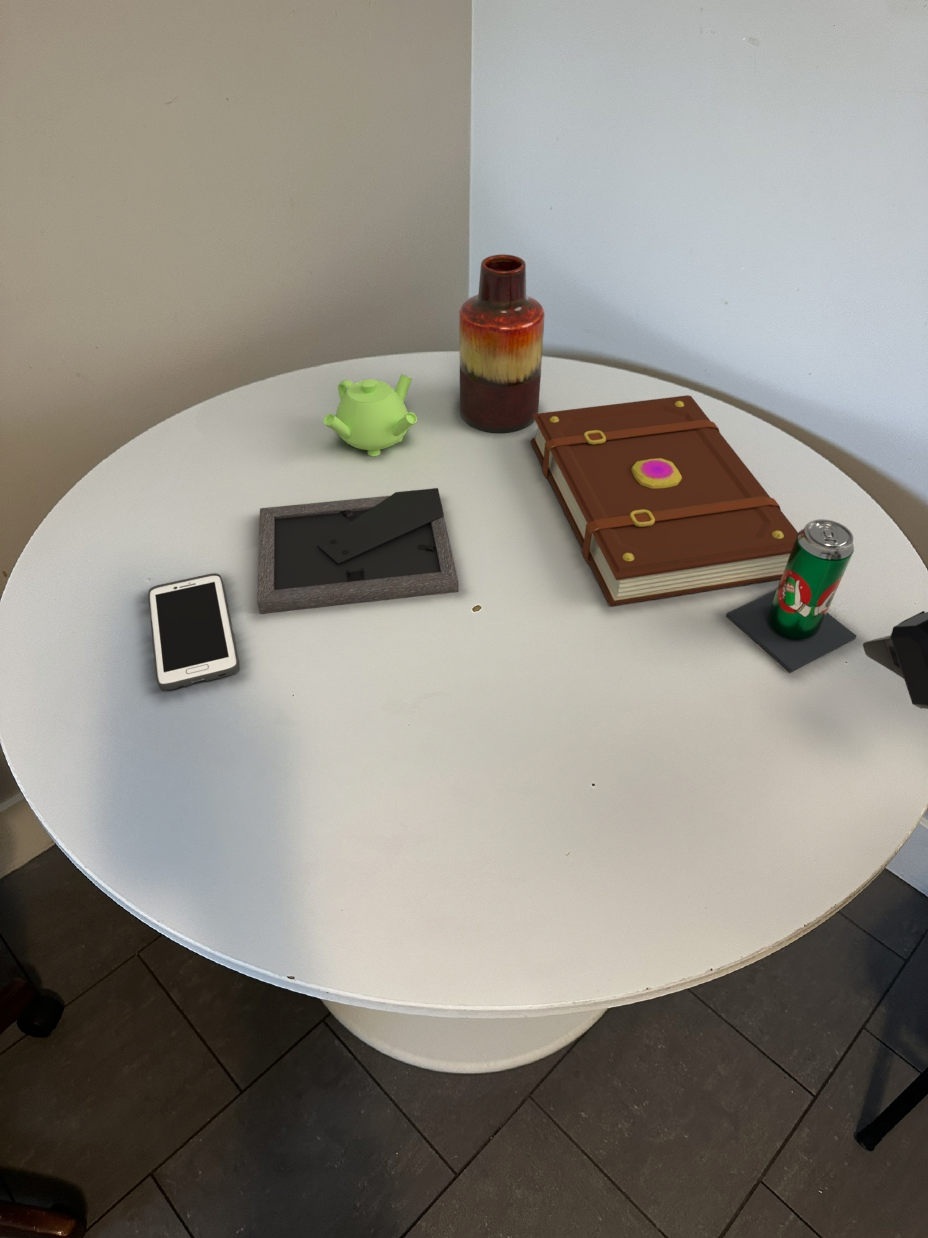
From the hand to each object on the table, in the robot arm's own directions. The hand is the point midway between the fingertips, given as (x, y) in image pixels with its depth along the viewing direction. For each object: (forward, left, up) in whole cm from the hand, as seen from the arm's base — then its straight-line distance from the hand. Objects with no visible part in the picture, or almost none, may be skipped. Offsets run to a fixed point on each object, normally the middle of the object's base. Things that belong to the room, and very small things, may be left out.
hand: (905, 628), depth 67 cm
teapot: (+41, -52, -12) cm, 67 cm away
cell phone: (+62, -20, -12) cm, 66 cm away
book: (+9, -34, -12) cm, 37 cm away
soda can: (+1, -11, -11) cm, 16 cm away
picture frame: (+45, -30, -12) cm, 55 cm away
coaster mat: (+1, -12, -12) cm, 17 cm away
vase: (+24, -57, -12) cm, 63 cm away
